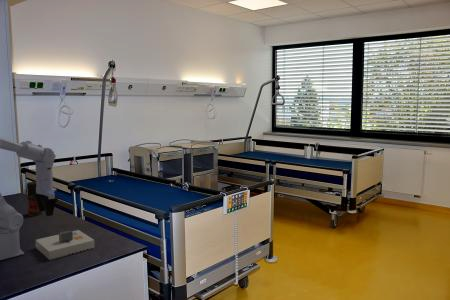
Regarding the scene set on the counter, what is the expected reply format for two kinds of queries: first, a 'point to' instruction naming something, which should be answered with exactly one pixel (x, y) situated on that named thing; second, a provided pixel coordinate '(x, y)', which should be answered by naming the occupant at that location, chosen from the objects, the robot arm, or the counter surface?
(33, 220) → the counter surface
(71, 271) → the counter surface
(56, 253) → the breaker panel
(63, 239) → the handle
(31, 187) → the deodorant
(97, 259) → the counter surface
